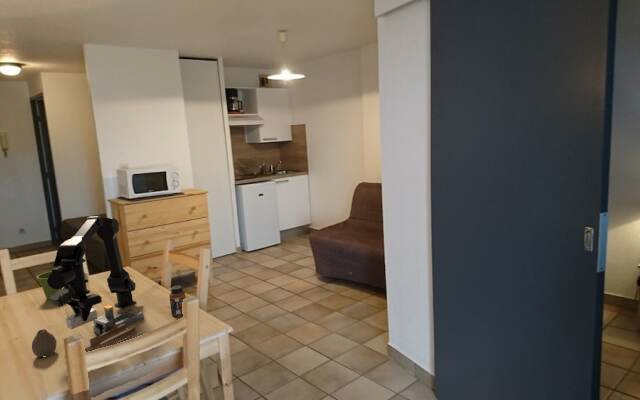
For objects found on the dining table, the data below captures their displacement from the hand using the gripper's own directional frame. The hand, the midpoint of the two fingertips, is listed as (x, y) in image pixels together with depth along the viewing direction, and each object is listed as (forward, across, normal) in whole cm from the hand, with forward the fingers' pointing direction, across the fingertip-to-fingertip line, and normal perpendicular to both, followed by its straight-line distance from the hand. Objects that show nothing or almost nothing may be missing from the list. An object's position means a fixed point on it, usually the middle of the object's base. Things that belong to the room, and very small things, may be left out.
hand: (82, 319), depth 146 cm
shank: (+1, 0, 0) cm, 1 cm away
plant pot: (+8, -56, +17) cm, 59 cm away
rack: (+8, +9, +5) cm, 13 cm away
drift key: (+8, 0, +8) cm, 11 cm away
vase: (+8, -3, -12) cm, 15 cm away
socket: (+8, 0, +13) cm, 15 cm away
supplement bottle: (+8, +14, +30) cm, 34 cm away
